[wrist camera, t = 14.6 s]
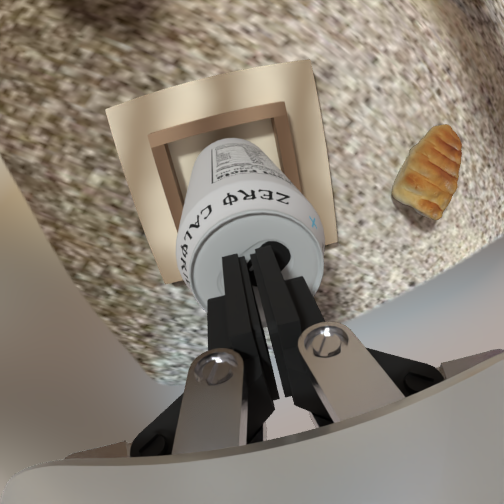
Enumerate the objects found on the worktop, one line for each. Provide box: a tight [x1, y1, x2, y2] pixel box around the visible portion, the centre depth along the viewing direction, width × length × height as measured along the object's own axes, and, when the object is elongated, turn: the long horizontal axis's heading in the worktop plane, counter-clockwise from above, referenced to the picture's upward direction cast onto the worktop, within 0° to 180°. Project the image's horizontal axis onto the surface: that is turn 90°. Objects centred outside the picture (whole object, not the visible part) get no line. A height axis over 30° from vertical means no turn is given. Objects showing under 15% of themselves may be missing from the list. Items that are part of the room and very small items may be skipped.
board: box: [106, 59, 338, 284], centre depth 24 cm, size 16×16×3 cm
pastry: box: [392, 124, 462, 220], centre depth 26 cm, size 9×7×4 cm
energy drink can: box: [175, 138, 325, 327], centre depth 18 cm, size 6×6×15 cm
